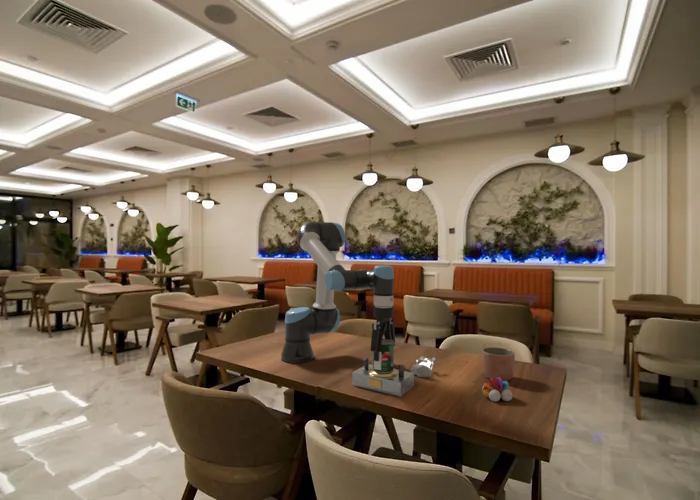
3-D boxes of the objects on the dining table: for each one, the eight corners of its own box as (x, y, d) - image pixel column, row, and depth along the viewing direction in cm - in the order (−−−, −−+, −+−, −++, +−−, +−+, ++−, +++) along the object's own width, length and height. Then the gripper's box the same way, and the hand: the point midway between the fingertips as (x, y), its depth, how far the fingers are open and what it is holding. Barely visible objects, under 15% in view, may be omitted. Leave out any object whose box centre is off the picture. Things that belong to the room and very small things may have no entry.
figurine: (407, 365, 152) (418, 353, 162) (409, 379, 153) (420, 367, 163) (428, 367, 147) (439, 355, 157) (430, 382, 148) (441, 369, 158)
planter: (475, 375, 154) (475, 348, 154) (498, 371, 158) (498, 346, 158) (497, 385, 142) (497, 356, 142) (521, 381, 147) (521, 353, 147)
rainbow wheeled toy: (478, 393, 134) (478, 373, 134) (504, 393, 135) (504, 373, 135) (489, 403, 125) (489, 382, 125) (516, 402, 126) (516, 381, 126)
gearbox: (351, 385, 141) (351, 361, 141) (368, 376, 151) (368, 354, 151) (399, 397, 130) (400, 371, 130) (413, 386, 141) (414, 362, 141)
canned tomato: (375, 373, 137) (375, 343, 136) (370, 367, 144) (371, 338, 144) (396, 372, 138) (396, 343, 138) (390, 366, 146) (390, 338, 146)
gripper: (379, 311, 130) (378, 375, 130) (404, 303, 148) (403, 360, 148) (360, 309, 134) (360, 371, 134) (387, 302, 152) (386, 357, 152)
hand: (383, 365), depth 141 cm, fingers open, 8 cm apart
